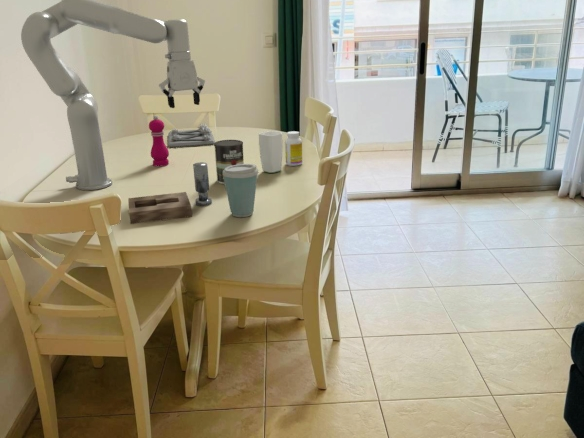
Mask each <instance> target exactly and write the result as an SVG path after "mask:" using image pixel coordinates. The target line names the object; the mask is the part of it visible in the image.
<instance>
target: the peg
mask: <svg viewBox="0 0 584 438" xmlns="http://www.w3.org/2000/svg"><path fill="white" fill-rule="evenodd" d="M192 167H193V178H194V187H195V192H196V193H197V195H198V198H196V199H195V200H194V202H195V203H194V204H195V205H196V206H198V207H205V206H209V205H212V203H213V201H212V198H211V197H209V194H208V192H209V191H210V181H209V168H208V163H207V162H195V163H193V164H192Z"/></svg>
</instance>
